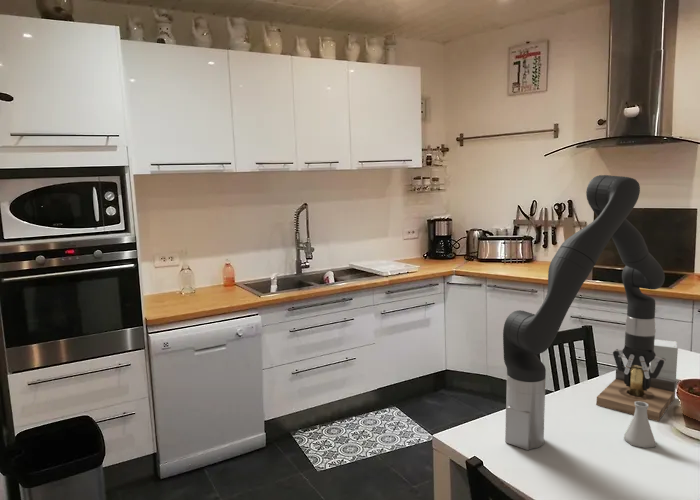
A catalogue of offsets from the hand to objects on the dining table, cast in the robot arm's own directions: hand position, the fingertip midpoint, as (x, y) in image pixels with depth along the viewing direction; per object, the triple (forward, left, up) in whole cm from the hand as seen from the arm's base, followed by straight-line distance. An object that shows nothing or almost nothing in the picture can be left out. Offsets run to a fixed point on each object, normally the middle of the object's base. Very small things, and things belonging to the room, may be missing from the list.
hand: (637, 387), depth 151 cm
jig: (0, 0, -4) cm, 4 cm away
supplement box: (+23, -2, -5) cm, 24 cm away
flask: (-25, -7, -5) cm, 26 cm away
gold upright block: (0, 0, -2) cm, 2 cm away
